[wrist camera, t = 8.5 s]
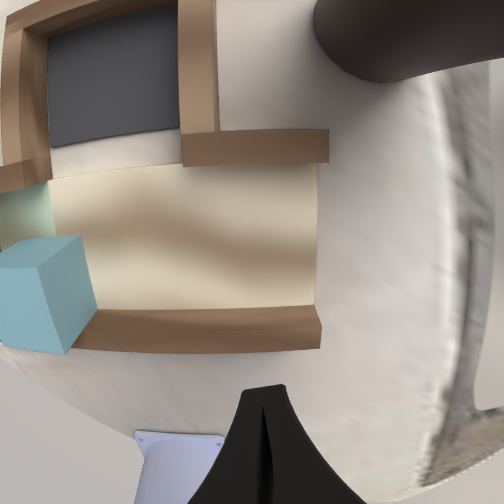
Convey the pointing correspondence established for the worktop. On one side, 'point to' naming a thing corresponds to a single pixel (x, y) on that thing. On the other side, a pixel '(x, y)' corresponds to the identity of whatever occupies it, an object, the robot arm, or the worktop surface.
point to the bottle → (408, 35)
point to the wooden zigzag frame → (169, 204)
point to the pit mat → (114, 77)
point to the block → (45, 294)
